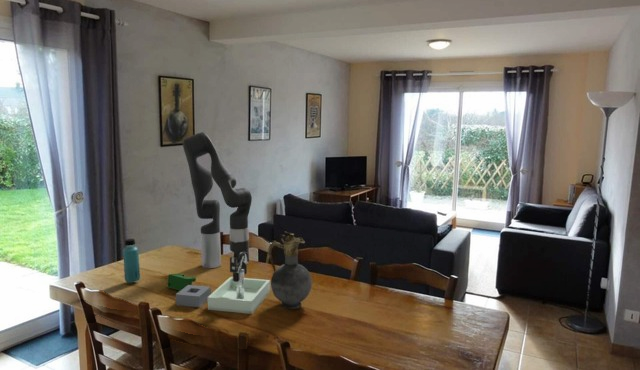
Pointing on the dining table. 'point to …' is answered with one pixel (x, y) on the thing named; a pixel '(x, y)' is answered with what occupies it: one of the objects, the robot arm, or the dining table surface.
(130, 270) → the beverage bottle
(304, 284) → the pitcher
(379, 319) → the dining table surface
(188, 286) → the block
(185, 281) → the green irregular block
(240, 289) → the lock pin
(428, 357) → the dining table surface
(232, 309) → the tray
